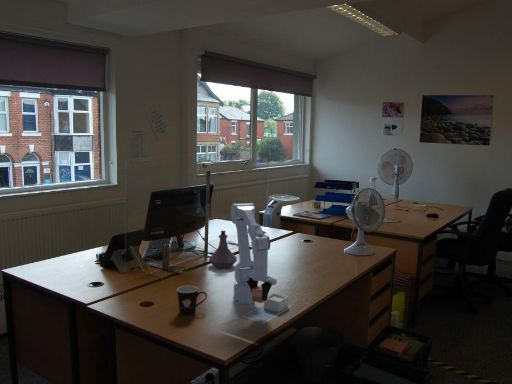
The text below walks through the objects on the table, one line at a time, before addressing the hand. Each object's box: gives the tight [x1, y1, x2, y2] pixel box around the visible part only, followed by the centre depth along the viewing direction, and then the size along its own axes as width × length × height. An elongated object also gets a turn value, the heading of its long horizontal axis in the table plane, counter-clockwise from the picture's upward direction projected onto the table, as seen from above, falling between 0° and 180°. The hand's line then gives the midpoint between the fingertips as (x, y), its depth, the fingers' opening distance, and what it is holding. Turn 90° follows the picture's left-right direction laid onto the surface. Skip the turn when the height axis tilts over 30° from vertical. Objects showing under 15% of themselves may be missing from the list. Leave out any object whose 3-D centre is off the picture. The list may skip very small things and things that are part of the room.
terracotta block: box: [252, 285, 267, 304], centre depth 187 cm, size 4×4×5 cm
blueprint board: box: [241, 304, 293, 325], centre depth 193 cm, size 22×11×1 cm, turn 146°
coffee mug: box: [176, 285, 208, 316], centre depth 191 cm, size 12×9×10 cm
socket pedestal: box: [263, 292, 289, 312], centre depth 197 cm, size 8×8×4 cm
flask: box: [208, 230, 238, 270], centre depth 254 cm, size 16×16×20 cm
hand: (259, 298), depth 188 cm, fingers closed on terracotta block, 4 cm apart
